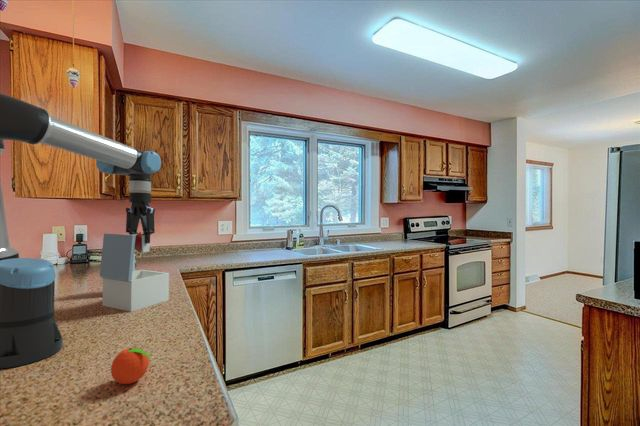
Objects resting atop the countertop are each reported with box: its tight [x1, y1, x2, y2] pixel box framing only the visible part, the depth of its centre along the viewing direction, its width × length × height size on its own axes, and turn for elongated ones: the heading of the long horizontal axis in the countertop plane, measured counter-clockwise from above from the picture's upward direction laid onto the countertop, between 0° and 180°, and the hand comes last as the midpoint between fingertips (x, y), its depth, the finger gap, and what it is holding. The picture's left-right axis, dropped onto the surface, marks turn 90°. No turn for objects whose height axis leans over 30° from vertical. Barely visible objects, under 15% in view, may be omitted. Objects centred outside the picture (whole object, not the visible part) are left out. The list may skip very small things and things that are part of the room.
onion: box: [134, 231, 143, 253], centre depth 125 cm, size 6×6×8 cm
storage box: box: [102, 269, 170, 312], centre depth 124 cm, size 16×16×11 cm
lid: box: [99, 233, 136, 282], centre depth 117 cm, size 17×16×1 cm
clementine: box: [110, 347, 152, 385], centre depth 67 cm, size 8×7×7 cm
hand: (139, 251), depth 125 cm, fingers closed on onion, 6 cm apart
